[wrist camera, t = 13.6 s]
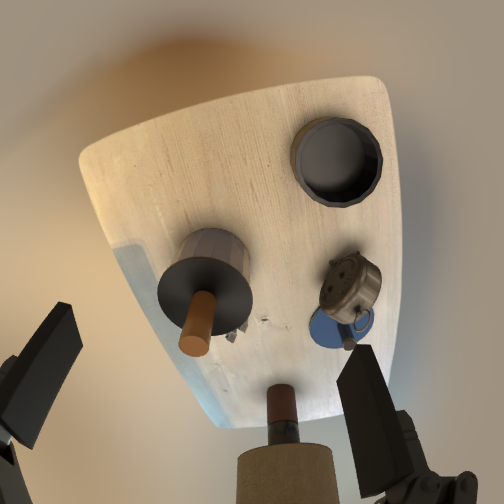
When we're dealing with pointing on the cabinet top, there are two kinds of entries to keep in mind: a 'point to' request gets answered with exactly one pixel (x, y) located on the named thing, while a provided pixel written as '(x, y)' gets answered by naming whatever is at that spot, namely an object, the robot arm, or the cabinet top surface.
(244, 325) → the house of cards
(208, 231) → the pot
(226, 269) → the lid
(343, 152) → the pan
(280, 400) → the lamp
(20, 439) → the robot arm
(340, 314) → the alarm clock
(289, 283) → the cabinet top surface
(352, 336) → the pot lid
